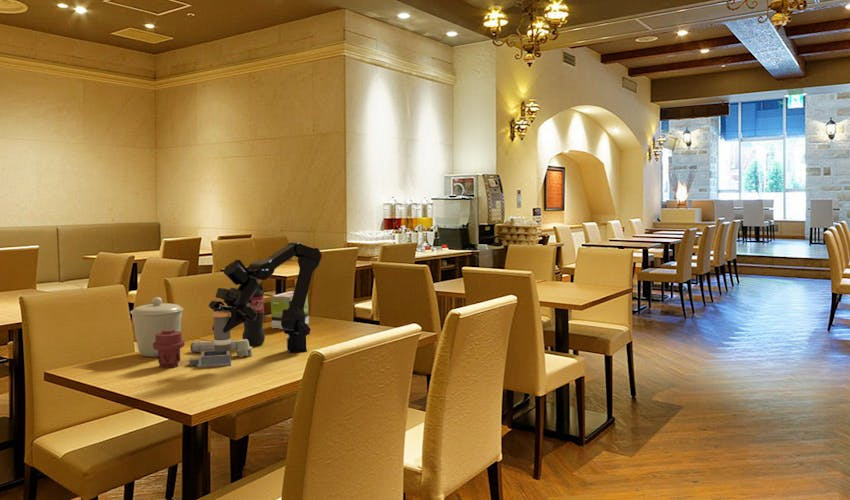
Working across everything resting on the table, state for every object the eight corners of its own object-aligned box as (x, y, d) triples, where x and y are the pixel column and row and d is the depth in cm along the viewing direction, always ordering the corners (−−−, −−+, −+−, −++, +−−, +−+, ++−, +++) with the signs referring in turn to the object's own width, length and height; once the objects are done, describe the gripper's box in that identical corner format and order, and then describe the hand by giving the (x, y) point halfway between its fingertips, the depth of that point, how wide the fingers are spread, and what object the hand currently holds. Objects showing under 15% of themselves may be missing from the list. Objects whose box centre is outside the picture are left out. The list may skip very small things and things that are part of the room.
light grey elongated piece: (197, 340, 250) (253, 335, 241) (200, 357, 250) (256, 353, 241) (188, 343, 245) (245, 338, 236) (191, 360, 245) (247, 356, 236)
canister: (173, 346, 256) (171, 292, 255) (193, 354, 243) (191, 297, 241) (124, 354, 244) (122, 297, 242) (142, 362, 231) (140, 302, 229)
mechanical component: (167, 361, 232) (191, 363, 229) (147, 368, 223) (171, 370, 220) (166, 326, 231) (190, 328, 228) (145, 332, 222) (170, 334, 219)
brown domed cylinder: (232, 347, 223) (231, 310, 221) (230, 351, 217) (228, 313, 216) (215, 348, 222) (214, 311, 221) (212, 352, 216) (211, 314, 215)
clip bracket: (230, 358, 236) (230, 349, 235) (231, 365, 226) (230, 355, 226) (190, 361, 232) (190, 351, 231) (189, 368, 222) (188, 358, 222)
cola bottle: (238, 346, 256) (235, 268, 254) (251, 341, 264) (249, 266, 261) (256, 347, 253) (254, 269, 250) (269, 343, 260) (267, 267, 258)
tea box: (290, 322, 304) (290, 290, 303) (309, 324, 300) (308, 291, 299) (270, 328, 291) (270, 295, 290) (290, 330, 287) (289, 296, 286)
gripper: (212, 276, 226) (185, 313, 218) (248, 280, 215) (221, 319, 207) (231, 296, 233) (206, 333, 225) (267, 300, 222) (242, 339, 214)
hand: (218, 331), depth 218 cm, fingers closed on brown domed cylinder, 5 cm apart
